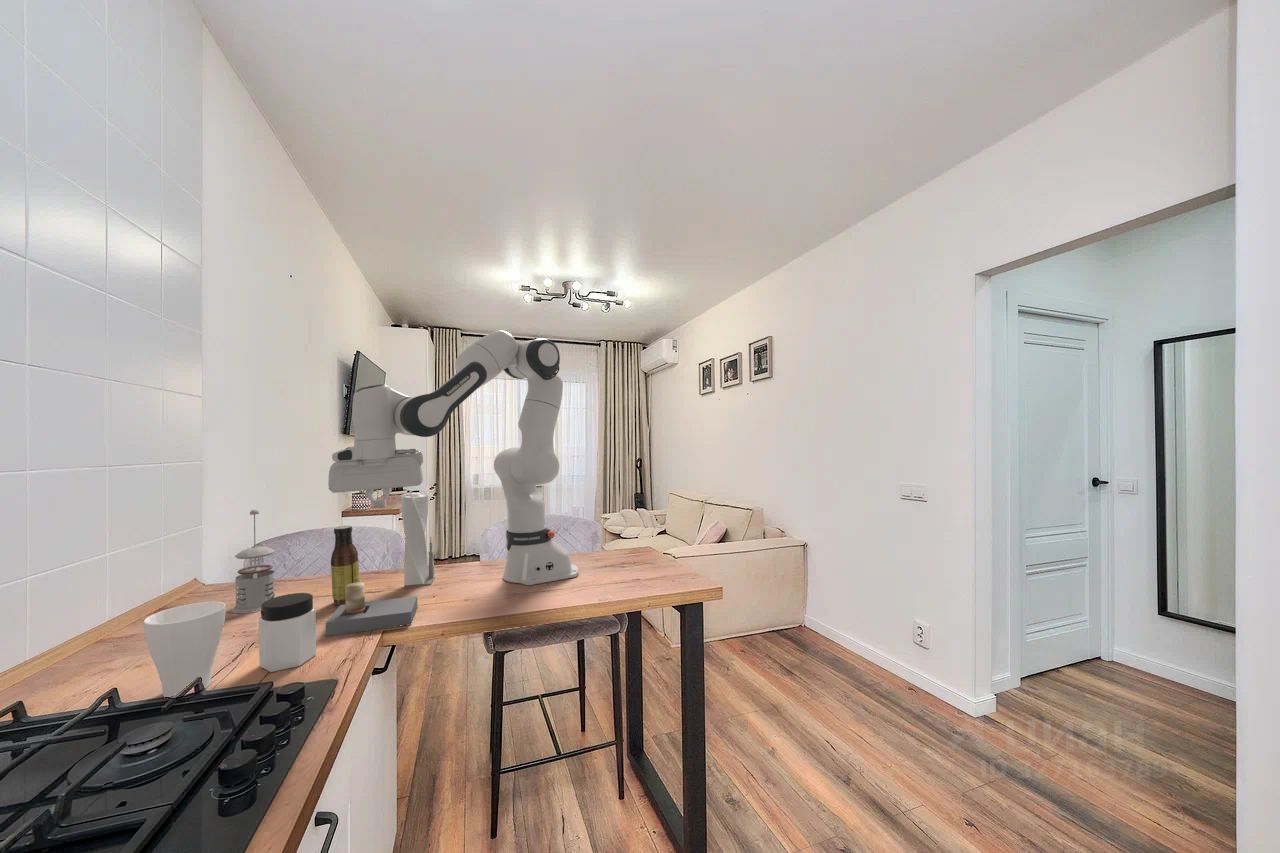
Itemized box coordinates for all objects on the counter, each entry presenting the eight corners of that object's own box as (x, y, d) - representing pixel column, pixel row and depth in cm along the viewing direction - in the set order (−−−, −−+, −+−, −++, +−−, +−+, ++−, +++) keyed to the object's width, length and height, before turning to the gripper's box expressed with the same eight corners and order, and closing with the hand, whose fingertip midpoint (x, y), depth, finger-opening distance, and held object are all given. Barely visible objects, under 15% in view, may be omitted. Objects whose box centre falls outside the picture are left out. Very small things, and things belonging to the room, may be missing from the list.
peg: (366, 619, 113) (366, 581, 113) (363, 625, 110) (362, 586, 110) (348, 621, 112) (347, 583, 112) (343, 628, 108) (343, 588, 108)
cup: (136, 714, 76) (135, 630, 76) (152, 686, 85) (151, 610, 85) (223, 692, 82) (222, 614, 82) (230, 668, 91) (229, 597, 91)
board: (417, 607, 120) (417, 596, 120) (411, 624, 110) (411, 611, 110) (340, 617, 115) (340, 605, 115) (325, 636, 104) (325, 622, 104)
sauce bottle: (352, 596, 130) (351, 523, 130) (365, 600, 126) (364, 525, 126) (326, 604, 124) (325, 527, 124) (339, 608, 121) (338, 529, 121)
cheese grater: (429, 586, 136) (428, 488, 137) (398, 589, 135) (397, 490, 135) (435, 577, 145) (433, 485, 145) (406, 580, 143) (404, 486, 143)
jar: (284, 650, 98) (284, 592, 98) (324, 650, 98) (323, 591, 98) (248, 673, 89) (247, 608, 89) (292, 672, 89) (291, 608, 89)
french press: (230, 616, 116) (228, 514, 116) (231, 603, 125) (230, 508, 125) (280, 606, 123) (279, 509, 123) (278, 595, 132) (277, 504, 132)
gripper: (423, 447, 123) (426, 500, 123) (332, 453, 116) (335, 509, 116) (420, 448, 117) (424, 504, 117) (324, 454, 110) (328, 514, 110)
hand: (379, 507), depth 117 cm, fingers closed
